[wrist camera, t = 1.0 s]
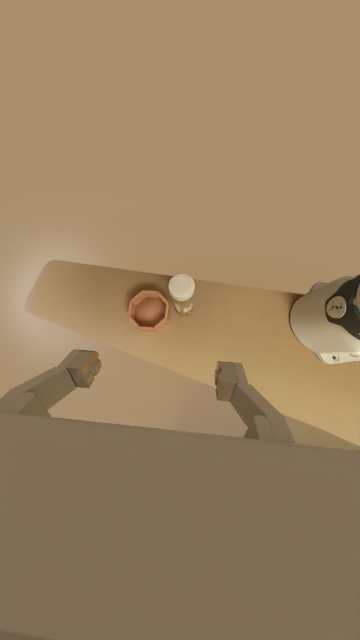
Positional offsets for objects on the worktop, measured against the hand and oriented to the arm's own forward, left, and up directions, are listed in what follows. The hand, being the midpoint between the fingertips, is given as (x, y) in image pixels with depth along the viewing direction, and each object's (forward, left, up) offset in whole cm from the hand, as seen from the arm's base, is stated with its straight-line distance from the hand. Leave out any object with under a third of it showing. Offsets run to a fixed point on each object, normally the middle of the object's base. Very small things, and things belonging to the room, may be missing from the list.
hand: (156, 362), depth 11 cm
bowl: (+8, -10, -28) cm, 31 cm away
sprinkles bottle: (0, -12, -28) cm, 31 cm away
